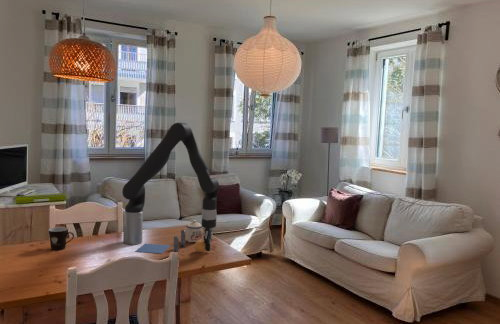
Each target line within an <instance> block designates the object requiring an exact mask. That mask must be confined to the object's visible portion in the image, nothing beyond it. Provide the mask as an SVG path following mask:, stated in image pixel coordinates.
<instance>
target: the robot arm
mask: <svg viewBox="0 0 500 324" xmlns="http://www.w3.org/2000/svg"><path fill="white" fill-rule="evenodd" d="M180 142H182V144H183V145H184V147H185V149H186V151H187V154H188V157H189V163H190V165H191V167H192V169H193V171H194V173H195V175H196V177H197V180H198V183H199V186H200V188H201V190H202V192H204V193H205V195H204V197H203V199H202V209H201V223H200V224H201V226H202V227H204V228H205V229H204V228H203V229H204V231H203V233H204V235H203V236H202V238H203V242H204V243H205V244H206V249H205V252H210V251H211V244H212V240H213V234H214V230H213V229H215V228H216V227H217V200H218V195H219V190H220V184H219V181H218V180H217V179H216V178H215V177H214V178H213V177H211V176H210V168H209V166H208V164H207V162H206V161H205V158H204V157H203V155H202V153H201V150H200V149H199V146H198V144H197V141H196V138H195V136H194V132H193V129H192V127H191V126H190V125H189V124H188V123H186V122H175V123H174V124H172V125H171V126H170V127H169V129H168V130H167V132H166V133H165V136H164V137H163V138H162V140H161V141H160V142H159V143H158V145H157V146H156V147H155V149H153V150H152V152H151V153H150V154H149V156H148V157H147V158H146V159H145V161H144V162H143V164H142V165H141V166H140V168H138V170H137V172H136V173H135V174H134V175H133V176H132V177H131V178H130V179H129V180H128V181H127V182H126V183H125V184H124V185H123V187H122V196H123V198H125V200H129V201H128V202H127V204H126V205H125V208H124V225H123V227H122V229H123V230H122V231H123V233H122V243H123V244H126V245H139V244H142V243H143V229H144V228H143V226H144V225H143V221H144V219H143V217H144V216H143V215H144V212H143V211H144V207H145V201H146V188H145V184H146V183H147V182H148V181H150V180H151V179H153V178H154V177H155V176H156V175H158V174H159V173H160V172H161V170H163V168H164V167H165V166H166V164H168V161H169V158H170V156H171V153H172V151H173V149H174V148H175V147H176V146H177V145H178V144H179V143H180Z"/></svg>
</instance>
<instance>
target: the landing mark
mask: <svg viewBox="0 0 500 324" xmlns="http://www.w3.org/2000/svg"><path fill="white" fill-rule="evenodd" d="M170 247H171V245H170V244H156V243H146V242H145V243H144V244H142V245H141V246H140V247H138V248H137V249H136V250H135V251H134V252H136V253H149V254H160V255H161V254H162V255H163V253H165V251H166V250H168V249H169V248H170Z"/></svg>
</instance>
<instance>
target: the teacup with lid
mask: <svg viewBox="0 0 500 324" xmlns="http://www.w3.org/2000/svg"><path fill="white" fill-rule="evenodd" d="M203 229H204V230H205V228H204V227H202V226H201V223H200V222H198V221H197V220H195V219H194V220H192V221H191V222H190V223H187V224H186V237H185V241H186V242H187V241H188V242H187V243H190V242H197V241H200V240H202V241H203V236H204V232H203Z"/></svg>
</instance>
